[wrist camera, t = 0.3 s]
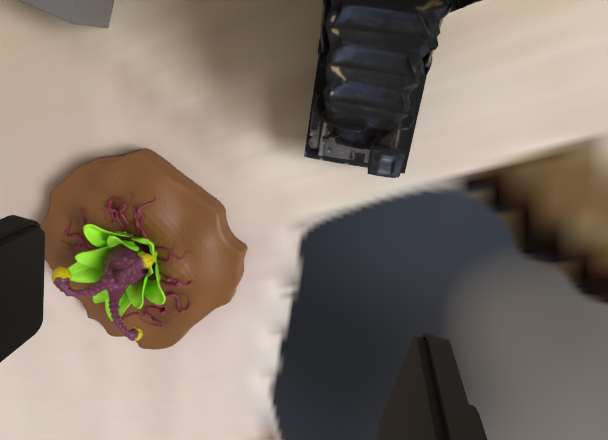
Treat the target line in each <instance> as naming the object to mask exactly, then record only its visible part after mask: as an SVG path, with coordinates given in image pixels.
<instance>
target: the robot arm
mask: <svg viewBox="0 0 608 440" xmlns="http://www.w3.org/2000/svg"><path fill="white" fill-rule="evenodd" d="M44 261H45V232H44V231H43V230H42V229H41V227H40V225H39V223H38V222H36V221H33V220H30V219H26V218H23V217H19V216H15V215H11V216H7V217H5V218H2V219H0V362H1V361H2V360H4V359H5V358H6V357H7V356H9V355H10V354H11V353H12V352H14V351H15V350H16V349H17V348H19V347H20V346H21V345H22V344H24V343H25V342H26V341H27V340H28V339H30V338H31V337H32V336H33V335H35V334H36V333H37V331H38V330H39V329H40V327H41V325H42V321H43V298H44ZM377 440H487V437H486V434H485V431H484V428H483V425H482V422H481V419H480V416H479V413H478V411H477V409H476V408H475V407H474V406H473V405H470V404H469V403H468V400H467V397H466V393H465V390H464V387H463V384H462V380H461V377H460V374H459V370H458V367H457V364H456V360H455V357H454V354H453V351H452V347H451V344H450V341H449V340H448V339H445V338H441V337H438V336H434V335H431V334H427V333H424V334H423V335H422V337H421V338H419V337H414V338H413V339H412V341H411V344H410V346H409V349H408V351H407V354H406V356H405V359H404V362H403V364H402V366H401V369H400V371H399V374H398V376H397V379H396V381H395V384H394V386H393V389H392V391H391V394H390V396H389V399H388V401H387V404H386V406H385V409H384V411H383V414H382V416H381V419H380V421H379V426H378V431H377Z"/></svg>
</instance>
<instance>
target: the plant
mask: <svg viewBox="0 0 608 440" xmlns="http://www.w3.org/2000/svg"><path fill="white" fill-rule="evenodd" d="M40 227H41V229H42V230H43V231H44V232H45V259H46V261H47V262H48V264H49V265H50V267H51V269H52V270H53V273H52V280H53V283H54V284H55V285H56V287H57V288H59V289H60V291H61V292H64V293H65V295H66V296H74V297H76V298H77V299H78V300H80V301H81V302H82V303H83V305H84V306H85V309H86V311H87V315H88V318H91V319H94V320H97V321H98V322H100V323H101V324H102V326H103V327H104V328H105V330H106V331H107V333H108V334H109V335H111V336H116V337H117V336H119V337H120V336H126V337H128V338H129V340H131V341H136V342H137V343H138V345H139V346H140V347H141V348H144V349H163V348H168V347H170V346H172V345H174V344H175V343H177V342H178V341H179V340H180V339H181V338H182V337H183V336H184V335H185V334H186V333H187V332H188V331H189V330H190V328H191V327H193V326H194V325H195V324H196V323H198V322H199V321H200V320H202V319H203V318H204V317H205V316H207V315H208V314H209V313H210V312H212V311H213V310H214V309H216V308H218V307H220V306H223V305H225V304H227V303H228V302H230V301H231V299H232V297H233V296H234V294H235V292H236V287H237V285H238V284H239V282H240V280H241V278H242V275H243V272H244V258H245V254H246V251H247V245H246V244H245V243H243V242H242V241H240V240H239V239H237V238H236V237H235V236H234V234H233V233H232V232H231V230H230V228H229V226H228V223H227V219H226V210H225V208H224V206H223V205H222V204H221V203H220V201H218V200H217V199H216V198H215V197H213V196H212V195H210V194H209V193H208V192H206V191H205V190H204V189H203V188H202V187H200V186H199V185H198V184H196V183H195V182H194V181H192V180H191V179H190V178H188V177H187V176H185V175H184V174H183V173H181V172H180V171H179V170H177V169H176V168H175V167H174V166H173V165H171V164H170V163H169V162H168V161H167V160H165V159H164V158H163V157H161V156H160V155H158V154H157V153H155V152H154V151H152V150H150V149H142V150H140V151H136V152H133V153H130V154H127V155H123V156H107V157H103V158H100V159H97V160H94V161H92V162H89V163H87V164H85V165H83V166H81V167H79V168H78V169H76V170H75V171H74V172H73V173H72V174H71V175H70V176H69V177H68V178H66V179H65V180H64V181H63V182H61V183H60V184H59V185H58V186H57V187H56V188H55V189H54V190H53V191H52V192H51V194H50V206H49V210H48V213H47V215H46V217H45V218H44V220H43V221H42V223H41V225H40Z"/></svg>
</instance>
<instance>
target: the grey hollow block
mask: <svg viewBox="0 0 608 440" xmlns="http://www.w3.org/2000/svg"><path fill="white" fill-rule="evenodd" d="M21 1H23V2H25V3H28V4H30V5H32V6H34V7H37V8H39V9H41V10H43V11H45V12H48V13H50V14H52V15H54V16H57V17H59V18H61V19H63V20H65V21H68V22H70V23H74V24H81V25H88V26H95V27H103V28H108V26H109V21H110V17H111V12H112V8H113V3H114V0H21Z"/></svg>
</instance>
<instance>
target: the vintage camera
mask: <svg viewBox="0 0 608 440" xmlns="http://www.w3.org/2000/svg"><path fill="white" fill-rule="evenodd" d="M479 1H482V0H323V11H322V23H321V37H320V40H319V47H318V57H319V58H318V65H317V72H316V78H315V85H314V92H313V98H312V105H311V112H310V120H309V127H308V134H307V141H306V147H305V154H304V156H305V157H309V158H313V159H319V160H324V161H330V162H336V163H342V164H348V165H355V166H361V167H367V168H368V174H372V175H376V176H383V177H391V178H395V177H399V176H400V173H405V169H406V165H407V160H408V156H409V152H410V147H411V143H412V138H413V134H414V129H415V125H416V121H417V116H418V112H419V107H420V103H421V99H422V94H423V90H424V85H425V80H426V75H427V73H428V71H429V69H430V67H431V64H432V54H433V51H434V50H435V49H436V48H437V47H438V41H437V36H438V35H439V34H440V26H441V23H442V21H443V18H444V17H445V16H446V15H447V14H448V13H450V12H453V11H455V10H458V9H460V8H463V7H465V6H467V5H470V4H473V3H475V2H479Z"/></svg>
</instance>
